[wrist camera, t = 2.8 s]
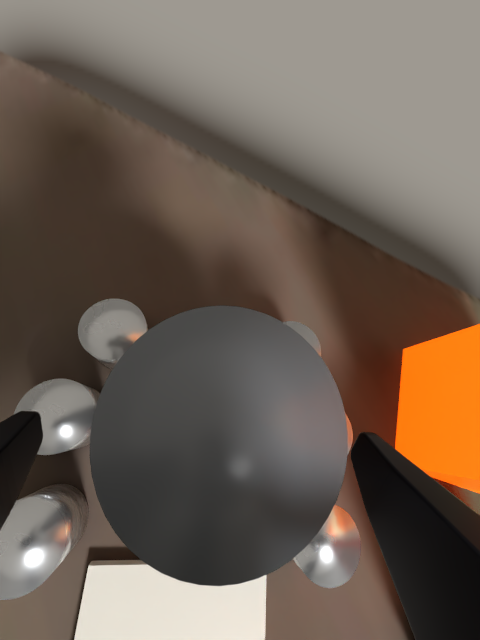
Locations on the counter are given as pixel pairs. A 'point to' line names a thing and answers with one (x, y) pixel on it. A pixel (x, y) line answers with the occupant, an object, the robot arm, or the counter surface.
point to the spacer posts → (74, 432)
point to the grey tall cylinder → (218, 445)
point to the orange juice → (442, 408)
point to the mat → (166, 606)
